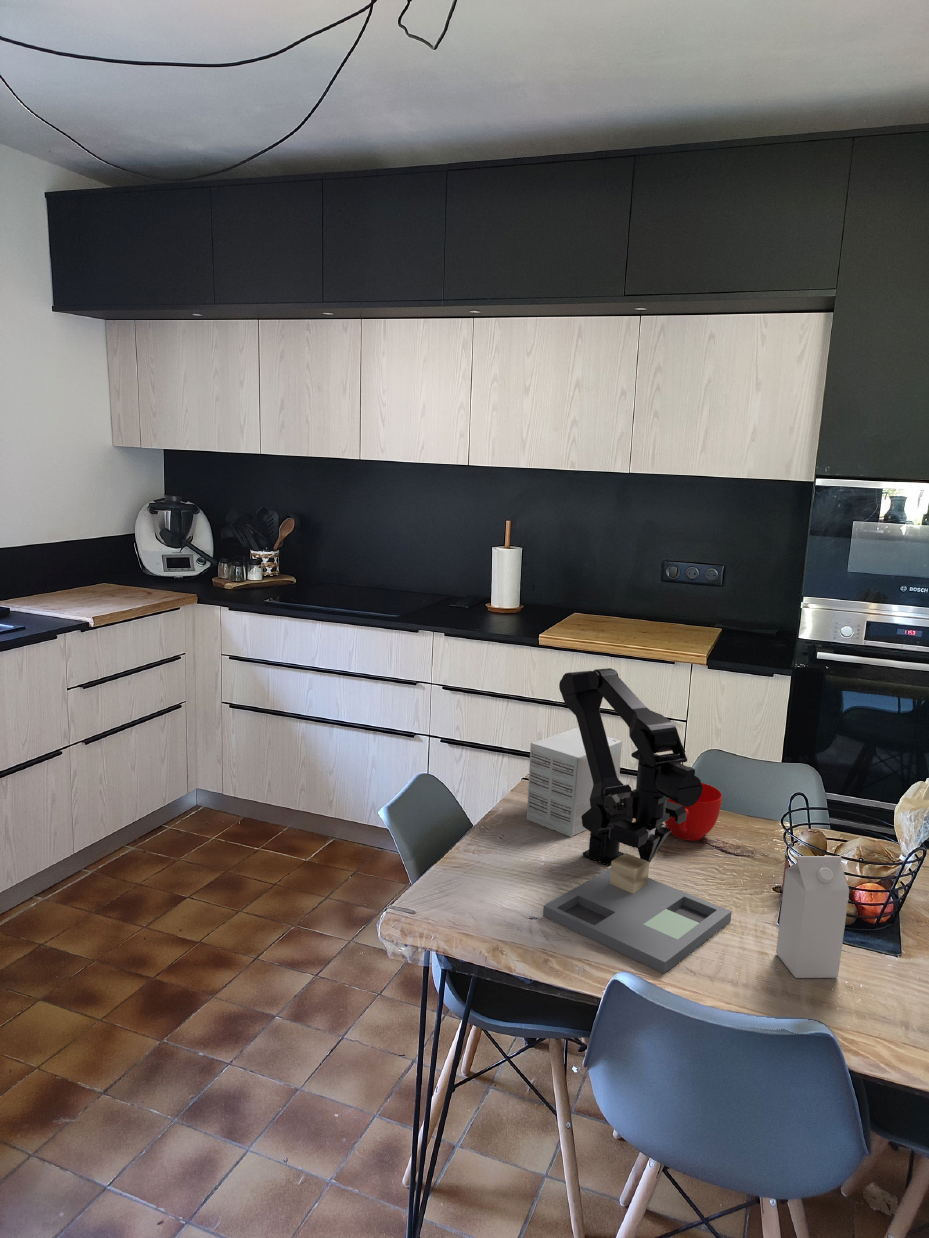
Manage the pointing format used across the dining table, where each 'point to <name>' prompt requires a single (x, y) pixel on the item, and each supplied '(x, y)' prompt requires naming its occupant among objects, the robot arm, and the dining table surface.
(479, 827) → the dining table surface
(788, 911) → the milk carton
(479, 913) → the dining table surface
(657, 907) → the board
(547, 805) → the supplement box
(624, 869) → the maple block
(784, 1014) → the dining table surface
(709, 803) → the ceramic cup
